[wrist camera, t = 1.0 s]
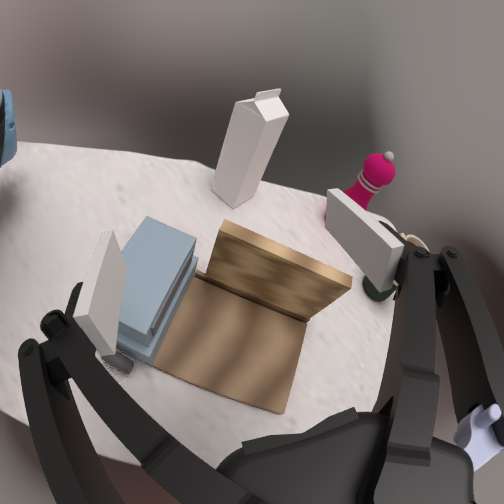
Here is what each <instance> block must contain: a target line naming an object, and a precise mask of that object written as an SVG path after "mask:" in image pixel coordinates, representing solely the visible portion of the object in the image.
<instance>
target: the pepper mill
mask: <svg viewBox="0 0 504 504" xmlns="http://www.w3.org/2000/svg"><path fill="white" fill-rule="evenodd" d="M393 159H394V155H393V154H392V152H386V153H385V154H384V155H382V154H372V155H370V156H368V157H367V159H366V160H365V161H364V169H363V170H362V171H361V172H360V173H359V175H358V180H357V182H356V183H355V184H354V185H353V186H352V187H351V188H349V189H347V190H345V191H343V193H345V194H346V195H347V196H348V197H349V198H351V199H352V200H353V201H354V202H356V203H357V204H358V205H359V206H360V207H362V208H363V209H364V210H365V211H367V205H368V203H369V200H370V199H371V198H372V196H373V195H374V194H375V193H379V192H380V190H381V189H382V188H383V185H388V184H389V183H390V182H391V181H392V180H393V178H394V176H395V168H394V165H393V163H392V162H391V161H392V160H393ZM325 221H326V215H325Z"/></svg>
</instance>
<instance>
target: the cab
mask: <svg viewBox="0 0 504 504" xmlns="http://www.w3.org/2000/svg"><path fill="white" fill-rule="evenodd" d="M196 239H197V238H195V237H193V236H191V235H188V234H186V233H184V232H182V231H179V230H177V229H175V228H173V227H170V226H168V225H166V224H164V223H162V222H159V221H157V220H155V219H153V218H150V217H148V216H146V218H145V219H144V220H143V222H142V223H141V224H140V226H139V227H138V229H137V230H136V231H135V233H134V234H133V236H132V237H131V238H130V240H129V241H128V243H127V244H126V246H125V247H124V249H123V250H122V251H121V253H122V256H123V258H124V261H125V263H126V266H127V271H126V277H125V283H124V289H123V295H122V302H121V308H120V316H119V324H118V332H117V342H116V348H118V349H120V350H121V351H123V352H125V353H127V354H129V355H131V356H133V357H135V358H137V359H139V360H141V361H143V362H145V363H147V364H149V365H151V366H152V364H153V362H154V359H155V357H156V355H157V353H158V351H159V348H160V346H161V344H162V342H163V340H164V338H165V335H166V333H167V331H168V329H169V327H170V325H171V323H172V321H173V318H174V316H175V314H176V312H177V310H178V308H179V306H180V304H181V302H182V300H183V298H184V296H185V294H186V292H187V290H188V288H189V286H190V284H191V281H192V279H193V277H194V274H195V270H196V266H197V261H198V257H196V256H194V255H193V253H194V248H195V243H196ZM101 359H102V360H104V361H105V362H107V363H108V364H110V365H112V366H113V367H115V368H117V369H119V370H121V371H123V372H125V373H127V374H130V371H131V369H132V367H133V365H134V362H133V361H131V360H130V359H128V358H127V357H125V356H123V355H122V354H120V353H118V352H115V354H114V355H106V356H101Z"/></svg>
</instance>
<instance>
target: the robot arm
mask: <svg viewBox="0 0 504 504" xmlns="http://www.w3.org/2000/svg"><path fill="white" fill-rule="evenodd" d="M16 152H17V137H16V127H15V121H14V109H13V101H12V95H11V91H10V90H8V89H7V90H2V91H1V89H0V168H1V166H2V165H3V164H5V163H7V162H8V161H10V160H11V159H12V158H13V157H14V156H15V154H16ZM325 228H326V229H327V230H328V231H329V232H330V234H331V235H332V236H333V237H334V238H335V239H336V240H337V242H338V243H339V244H340V245H341V246H342V247H343V249H344V250H345V251H346V252H347V253H348V254H349V256H350V257H351V258H352V259H353V260H354V262H355V263H356V264H357V265H358V266H359V268H360V269H361V270H362V271H363V272H364V274H365V275H366V276H367V277H368V279H369V280H370V281H371V282H372V284H373V285H374V286H375V287H376V289H377V290H378V291H379V292H380V293H381V292H383V291H386V290H389V289H391V288H392V285H393V282H394V280H395V281H396V282H397V284H398V286H397V289H396V292H395V295H394V298H393V300H394V301H395V307H394V315H393V322H392V329H391V336H390V342H389V348H388V353H387V358H386V363H385V368H384V373H383V378H382V382H381V386H380V391H379V395H378V398H377V401H376V403H375V406H374V408H373V410H372V412H356V410H355V408H354V407H352V408H350V409H347V410H345V411H343V412H340V413H337V414H335V415H332V416H330V417H328V418H326V419H325V420H323V421H322V422H320V423H319V424H317V425H315V426H314V427H312V428H311V429H309V430H307V431H306V432H304V433H300V434H285V435H269V436H265V437H261V438H257V439H253V440H248V441H244V442H242V446H243V447H242V448H240V449H238V450H236V451H234V452H233V453H231V454H230V455H229V456H227V457H226V458H225V459H224V460H223V461H222V462H221V463H220V465H219V466H218V467H217V469H216V470H215V469H214V468H213V467H211V466H210V465H208V464H207V463H206V462H204V461H203V460H202V459H200V458H199V457H198V456H196V455H195V454H194V453H192V452H191V451H190V450H189V449H187V448H186V447H185V446H184V445H182V444H181V443H180V442H179V441H178V440H176V439H175V438H174V437H173V436H172V435H171V434H169V433H168V432H167V431H166V430H165V429H164V428H163V427H161V426H160V425H159V424H158V423H157V422H156V421H155V420H154V419H153V418H152V417H151V416H150V415H149V414H147V413H146V412H145V411H144V410H143V409H142V408H141V407H140V406H139V405H138V404H137V403H136V402H135V401H134V400H133V399H132V398H131V397H130V395H129V394H128V393H127V392H126V391H125V390H124V389H123V388H122V387H121V386H120V385H119V384H118V383H117V381H116V380H115V379H114V378H113V377H112V376H111V375H110V373H109V372H108V371H107V370H106V369H105V368H104V366H103V365H102V364H101V363H100V362H99V360H98V359H97V358H96V357H95V352H96V350H97V351H98V352H99V353H100V355H101V356H106V355H114V354H115V352H116V342H117V332H118V324H119V316H120V308H121V302H122V295H123V289H124V283H125V277H126V271H127V266H126V263H125V261H124V258H123V256H122V253H121V251H120V248H119V246H118V243H117V240H116V238H115V235H114V232H113V230H112V231H108V232H104V233H101V236H100V238H99V241H98V243H97V246H96V248H95V251H94V254H93V256H92V259H91V262H90V265H89V267H88V270H87V273H86V276H85V279H84V282H80V283H77V285H76V286H75V287H74V289H73V290H72V293H71V296H70V299H69V302H68V305H67V308H66V311H65V315H64V313H63V312H62V311H61V310H53V311H50V312H49V313H47V314H46V315H45V316H44V317H43V319H42V321H41V324H40V328H41V331H42V332H43V333H44V334H45V336H46V337H47V338H48V339H49V340H47V341H45V342H43V343H41V344H39V343H38V342H37V341H36V340H35V339H31V338H30V339H28V340H26V341H25V342H23V343H22V345H21V346H20V348H19V351H18V360H19V370H20V378H21V385H22V391H23V397H24V402H25V407H26V412H27V417H28V421H29V425H30V429H31V433H32V437H33V441H34V444H35V447H36V451H37V454H38V457H39V460H40V463H41V466H42V469H43V471H44V474H45V477H46V479H47V482H48V484H49V487H50V489H51V492H52V494H53V496H54V498H55V501H56V503H57V504H124V502H123V500H122V498H121V497H120V495H119V494H118V492H117V490H116V489H115V487H114V485H113V484H112V482H111V480H110V478H109V477H108V475H107V473H106V471H105V469H104V467H103V465H102V464H101V461H100V460H99V457H98V455H97V453H96V451H95V449H94V447H93V445H92V442H91V440H90V438H89V436H88V433H87V431H86V429H85V426H84V424H83V421H82V419H81V416H80V413H79V411H78V408H77V405H76V403H75V400H74V397H73V394H72V391H71V388H70V385H69V381H68V379H69V378H72V379H73V380H74V382H75V383H76V385H77V386H78V387H79V389H80V390H81V392H82V393H83V395H84V396H85V397H86V399H87V400H88V402H89V403H90V404H91V406H92V407H93V408H94V410H95V411H96V412H97V414H98V415H99V416H100V417H101V419H102V420H103V421H104V422H105V424H106V425H107V426H108V427H109V428H110V430H111V431H112V432H113V433H114V434H115V435H116V437H117V438H118V439H119V440H120V441H121V442H122V443H123V444H124V446H125V447H126V448H127V449H128V450H129V451H130V452H131V453H132V454H133V455H134V456H135V457H136V458H137V459H138V460H139V461H140V463H141V466H142V468H143V469H144V470H145V471H146V472H147V473H148V474H149V475H150V476H151V477H152V478H153V479H154V480H155V481H156V482H157V483H159V484H160V485H161V486H162V487H163V488H164V489H165V490H166V491H167V492H169V493H170V494H171V495H172V496H173V497H175V498H176V499H177V500H178V501H180V502H181V503H182V504H476V502H475V500H474V494H473V476H474V471H476V470H477V469H478V468H480V467H481V466H482V465H483V464H485V463H486V462H487V461H488V460H490V459H491V458H492V457H493V456H494V455H496V454H497V453H498V452H500V451H502V450H504V352H503V349H502V346H501V343H500V340H499V337H498V334H497V331H496V328H495V326H494V323H493V320H492V318H491V315H490V313H489V310H488V308H487V306H486V303H485V301H484V299H483V297H482V294H481V292H480V290H479V288H478V286H477V284H476V281H475V279H474V277H473V275H472V273H471V271H470V269H469V267H468V266H467V264H466V262H465V260H464V258H463V256H462V254H461V253H460V252H459V251H458V250H457V249H456V248H453V247H449V246H445V247H443V248H442V250H441V253H440V254H431V253H430V252H429V251H428V250H427V249H425V248H423V247H420V246H413V247H412V246H411V245H410V244H409V243H408V242H407V241H406V240H405V239H404V238H403V237H402V236H400V235H398V233H397V232H396V231H395V230H394V229H393V228H391V227H390V226H389V225H388V224H386V223H384V222H382V221H377V220H376V219H375V218H373V217H372V216H371V215H370V214H369V213H368V212H366V211H365V210H364V209H363V208H362V207H360V206H359V205H358V204H357V203H356V202H354V201H353V200H352V199H351V198H349V197H348V196H347V195H346V194H345V193H343V192H342V191H341V190H339V189H338V188H337V189H329V190H327V206H326V221H325ZM436 320H437V323H438V327H439V331H440V335H441V339H442V343H443V347H444V352H445V357H446V361H447V367H448V372H449V378H450V384H451V390H452V396H453V404H454V410H455V414H456V418H457V422H458V427H457V432H456V433H455V434H454V442H455V443H456V444H457V446H456V445H453V444H451V443H448V442H445V441H443V440H440V439H438V438H435V437H433V430H434V424H435V418H436V411H437V404H438V394H439V385H440V378H439V376H438V375H436V374H435V373H434V366H435V346H436Z"/></svg>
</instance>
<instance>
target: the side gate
mask: <svg viewBox="0 0 504 504" xmlns="http://www.w3.org/2000/svg"><path fill="white" fill-rule="evenodd" d="M205 276H207V277H209V278H212V279H214V280H216V281H218V282H221V283H223V284H225V285H228V286H230V287H232V288H235V289H237V290H239V291H242V292H244V293H246V294H249V295H251V296H253V297H256V298H258V299H261V300H263V301H265V302H268V303H270V304H273V305H275V306H277V307H280V308H282V309H285V310H287V311H290V312H292V313H295V314H297V315H300V316H302V317H305V318H307V319H310V318H311V317H312V316H314V315H315V314H317V313H318V312H320V311H321V310H322V309H324V308H325V307H327V306H328V305H329V304H331V303H332V302H333V301H335V300H336V299H338V298H339V297H340V296H342V295H343V294H344V293H346V292H347V291H348V290H350V289H351V285H352V276H350V275H348V274H345V273H343V272H341V271H339V270H337V269H335V268H332V267H330V266H328V265H326V264H324V263H322V262H319V261H317V260H315V259H313V258H311V257H308V256H306V255H304V254H302V253H300V252H297V251H295V250H293V249H291V248H289V247H286V246H284V245H282V244H280V243H278V242H275V241H273V240H271V239H269V238H266V237H264V236H262V235H260V234H257V233H255V232H253V231H251V230H248V229H246V228H244V227H242V226H239V225H237V224H235V223H232V222H230V221H228V220H226V219H224V221H223V223H222V225H221V227H220V229H219V232H218V235H217V238H216V241H215V244H214V248H213V251H212V254H211V258H210V261H209V264H208V268H207V271H206V275H205Z"/></svg>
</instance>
